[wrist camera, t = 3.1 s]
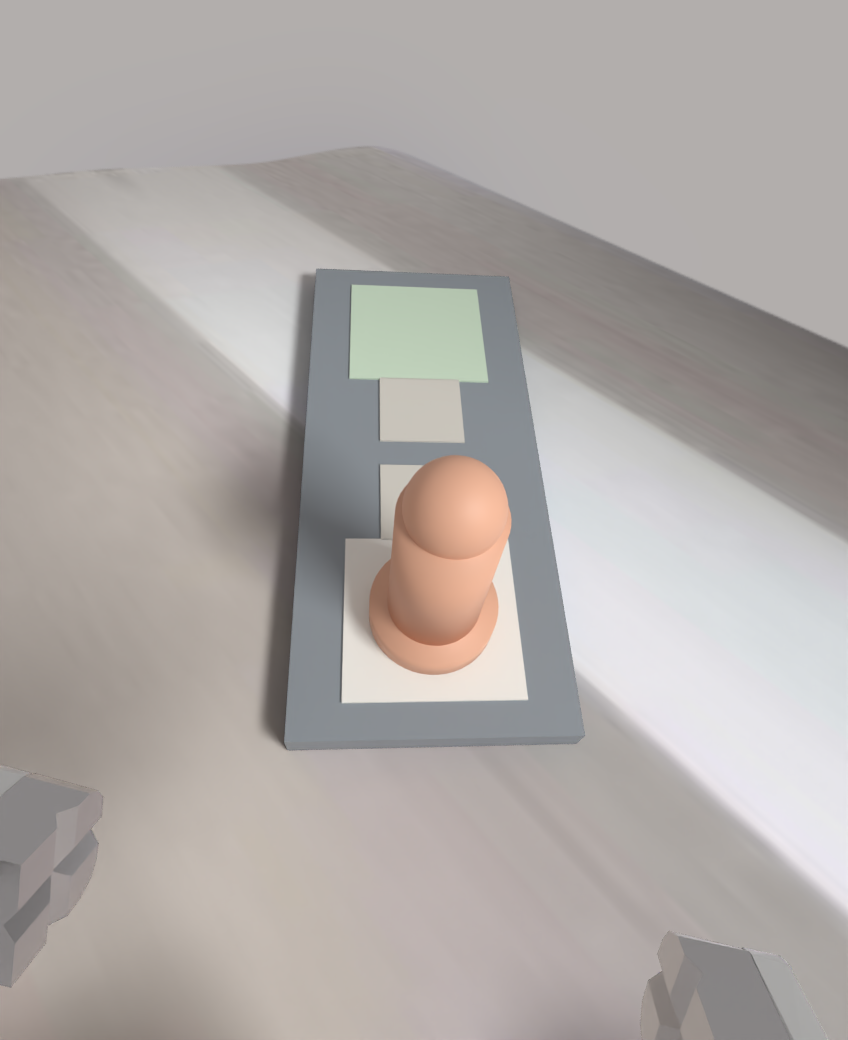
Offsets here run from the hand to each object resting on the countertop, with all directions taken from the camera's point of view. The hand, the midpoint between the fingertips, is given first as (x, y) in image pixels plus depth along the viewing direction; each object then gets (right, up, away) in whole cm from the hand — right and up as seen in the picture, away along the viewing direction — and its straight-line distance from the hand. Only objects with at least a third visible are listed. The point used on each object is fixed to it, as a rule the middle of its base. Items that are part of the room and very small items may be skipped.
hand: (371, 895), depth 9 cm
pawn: (+1, +2, +17) cm, 17 cm away
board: (+1, +8, +23) cm, 24 cm away
